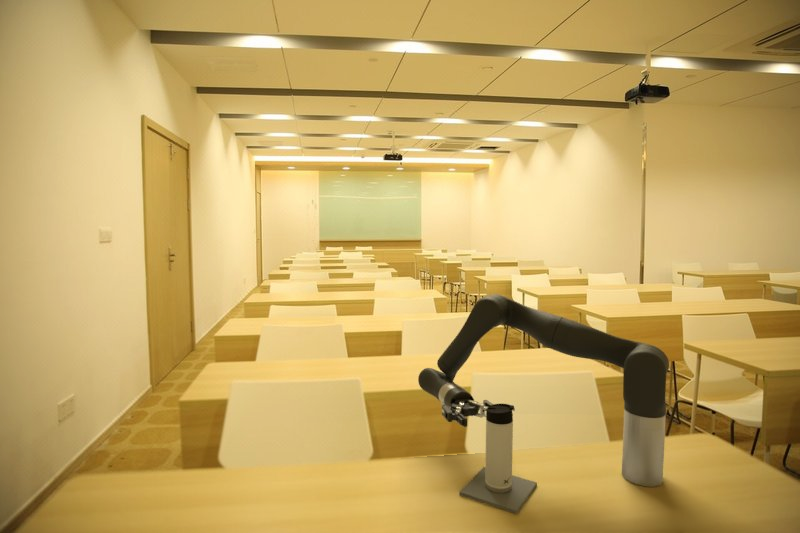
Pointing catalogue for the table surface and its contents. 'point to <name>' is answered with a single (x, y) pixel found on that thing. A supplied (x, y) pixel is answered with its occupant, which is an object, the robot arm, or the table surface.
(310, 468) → the table surface
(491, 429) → the travel mug
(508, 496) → the gray mat
